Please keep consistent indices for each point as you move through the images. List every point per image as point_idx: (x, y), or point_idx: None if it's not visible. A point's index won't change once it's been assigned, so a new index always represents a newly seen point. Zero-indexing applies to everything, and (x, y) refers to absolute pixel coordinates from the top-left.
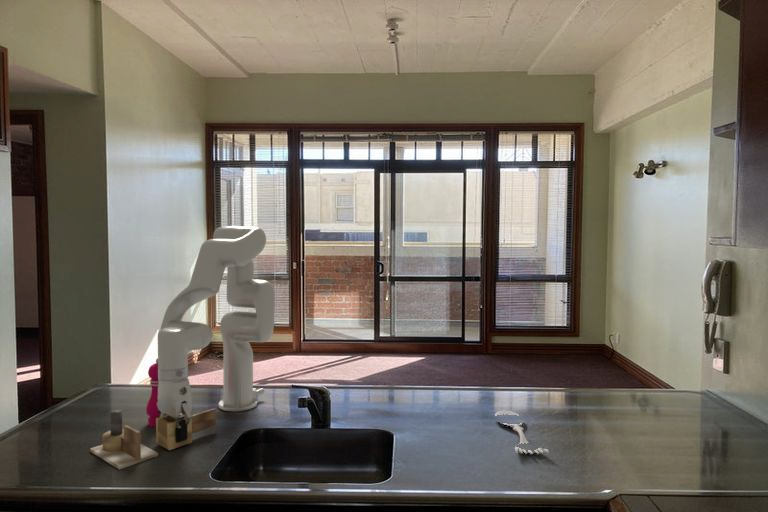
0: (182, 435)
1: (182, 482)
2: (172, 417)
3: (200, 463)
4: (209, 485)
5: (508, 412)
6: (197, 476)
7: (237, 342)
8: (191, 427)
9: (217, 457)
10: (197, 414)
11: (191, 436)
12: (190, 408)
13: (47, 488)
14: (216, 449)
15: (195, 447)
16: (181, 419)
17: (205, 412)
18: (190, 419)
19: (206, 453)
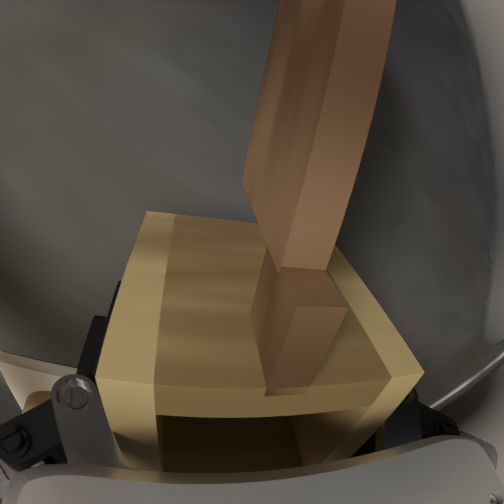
0: None
1: (442, 389)
2: (158, 418)
3: (453, 320)
4: (494, 356)
5: None
6: (466, 358)
7: None
8: (375, 301)
9: (488, 258)
10: (351, 158)
11: (341, 256)
12: (490, 486)
13: None
14: (465, 204)
15: (367, 242)
16: (350, 436)
17: (387, 12)
18: (472, 435)
19: (445, 258)
